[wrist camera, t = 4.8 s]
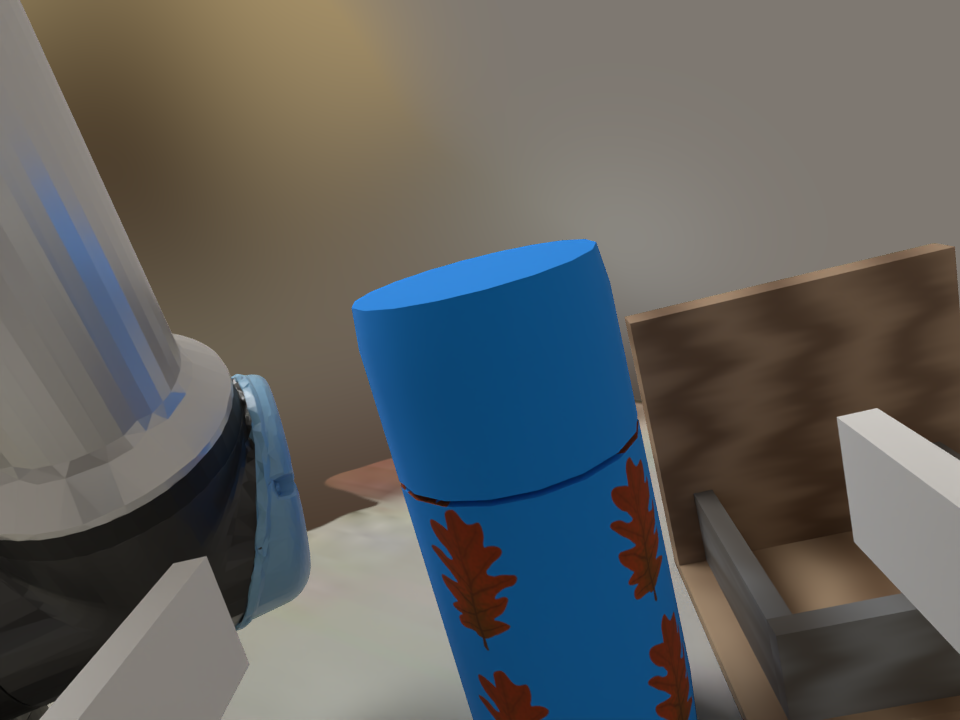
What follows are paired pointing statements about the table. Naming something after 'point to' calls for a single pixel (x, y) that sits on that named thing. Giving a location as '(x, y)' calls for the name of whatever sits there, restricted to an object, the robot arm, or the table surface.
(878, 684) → the mount board
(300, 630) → the table surface
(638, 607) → the thermos
